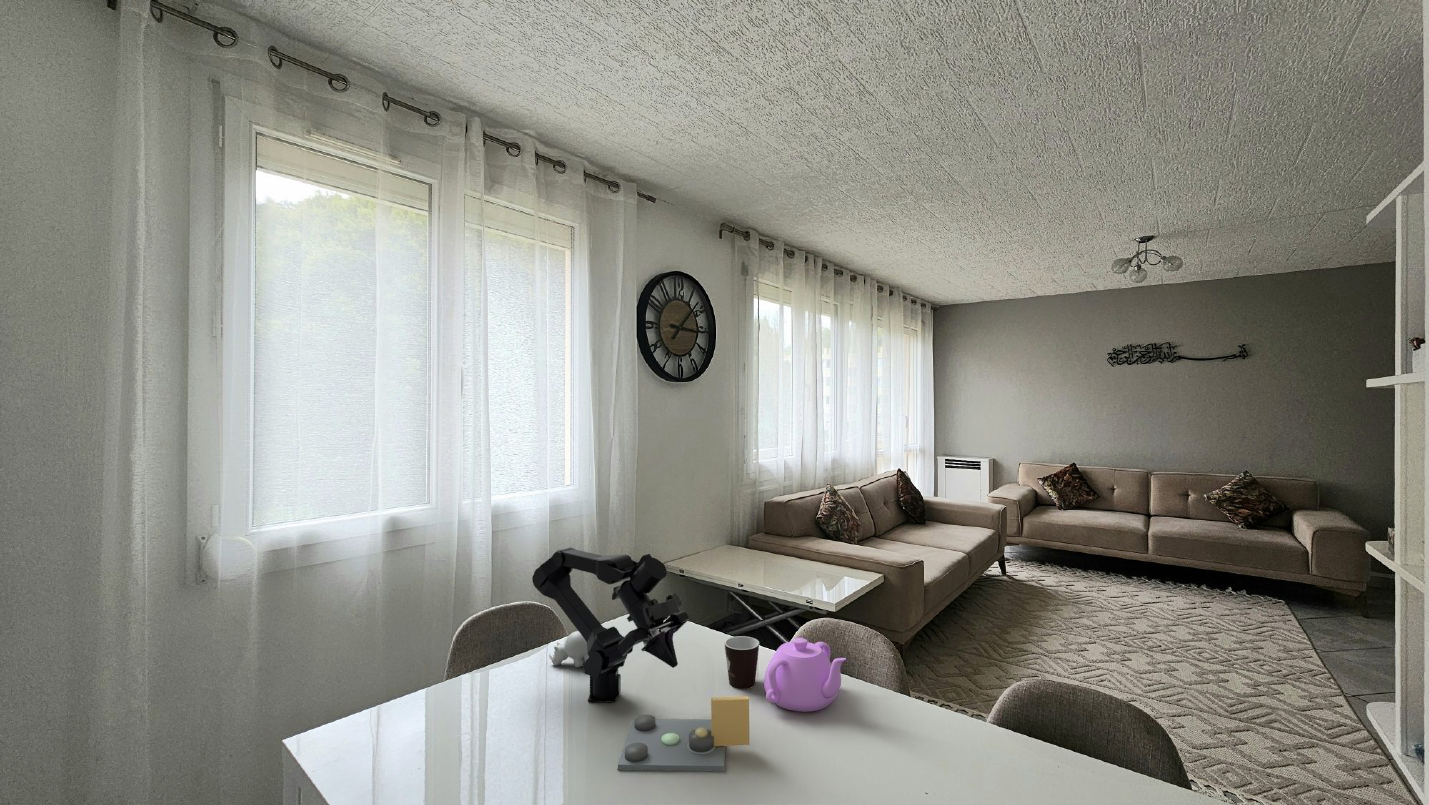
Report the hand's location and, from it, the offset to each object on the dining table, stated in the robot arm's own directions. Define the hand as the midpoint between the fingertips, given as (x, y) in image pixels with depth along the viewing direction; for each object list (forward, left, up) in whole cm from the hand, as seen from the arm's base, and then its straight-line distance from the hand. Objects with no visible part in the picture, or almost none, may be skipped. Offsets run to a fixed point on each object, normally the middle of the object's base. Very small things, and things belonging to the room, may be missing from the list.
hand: (675, 666), depth 129 cm
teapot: (+30, +10, -13) cm, 34 cm away
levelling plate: (+1, -8, -12) cm, 15 cm away
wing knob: (+10, -10, -11) cm, 18 cm away
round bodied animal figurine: (-31, +30, -13) cm, 45 cm away
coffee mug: (+15, +21, -13) cm, 29 cm away
